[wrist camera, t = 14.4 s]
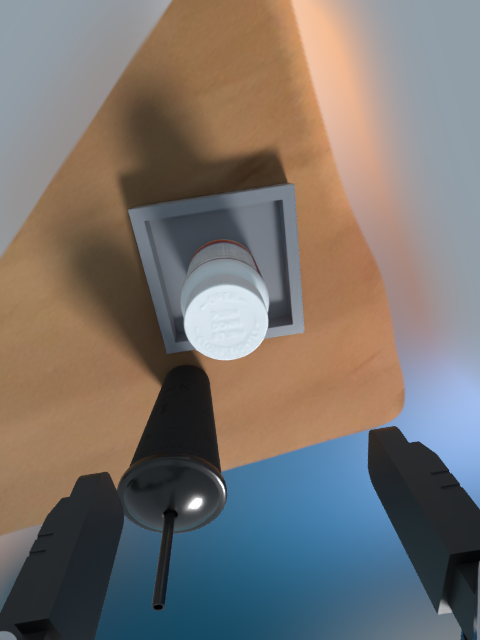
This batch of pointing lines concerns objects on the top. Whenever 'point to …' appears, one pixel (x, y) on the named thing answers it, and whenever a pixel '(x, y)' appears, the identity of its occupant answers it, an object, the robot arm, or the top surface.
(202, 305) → the pill bottle
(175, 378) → the drinking cup
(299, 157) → the top surface
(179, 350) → the tray
